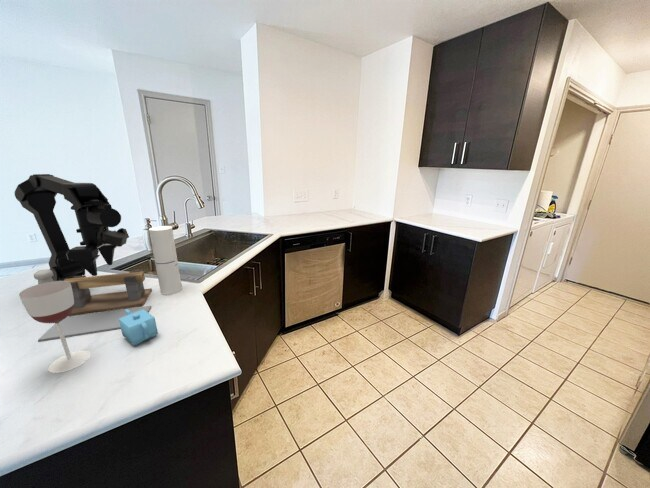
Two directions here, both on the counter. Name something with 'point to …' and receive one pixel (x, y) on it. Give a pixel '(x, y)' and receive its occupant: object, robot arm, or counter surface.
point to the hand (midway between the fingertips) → (103, 270)
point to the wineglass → (54, 316)
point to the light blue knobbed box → (138, 326)
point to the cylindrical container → (165, 259)
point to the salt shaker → (43, 276)
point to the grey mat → (89, 323)
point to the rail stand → (109, 297)
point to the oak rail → (106, 280)
